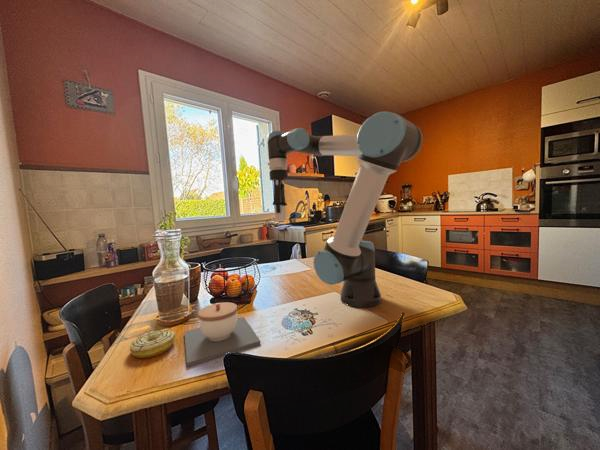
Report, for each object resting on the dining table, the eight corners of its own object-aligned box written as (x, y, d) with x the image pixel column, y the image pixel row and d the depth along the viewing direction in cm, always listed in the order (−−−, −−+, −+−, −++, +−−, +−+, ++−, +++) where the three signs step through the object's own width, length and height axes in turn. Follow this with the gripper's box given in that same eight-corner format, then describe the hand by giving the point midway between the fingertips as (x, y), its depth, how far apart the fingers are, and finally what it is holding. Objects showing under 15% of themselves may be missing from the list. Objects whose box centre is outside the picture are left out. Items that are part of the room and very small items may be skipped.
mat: (243, 319, 81) (243, 316, 81) (260, 344, 65) (260, 340, 65) (184, 334, 73) (184, 331, 73) (187, 367, 57) (186, 363, 57)
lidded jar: (228, 347, 63) (225, 311, 62) (191, 344, 65) (188, 310, 64) (245, 327, 73) (243, 297, 73) (213, 325, 75) (211, 296, 75)
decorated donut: (169, 335, 73) (168, 323, 73) (180, 348, 66) (179, 334, 66) (127, 350, 66) (126, 336, 66) (135, 366, 59) (133, 351, 58)
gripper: (274, 175, 114) (276, 220, 115) (263, 165, 89) (267, 222, 90) (289, 174, 114) (292, 219, 115) (283, 163, 89) (287, 221, 90)
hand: (281, 220), depth 103 cm, fingers open, 13 cm apart
